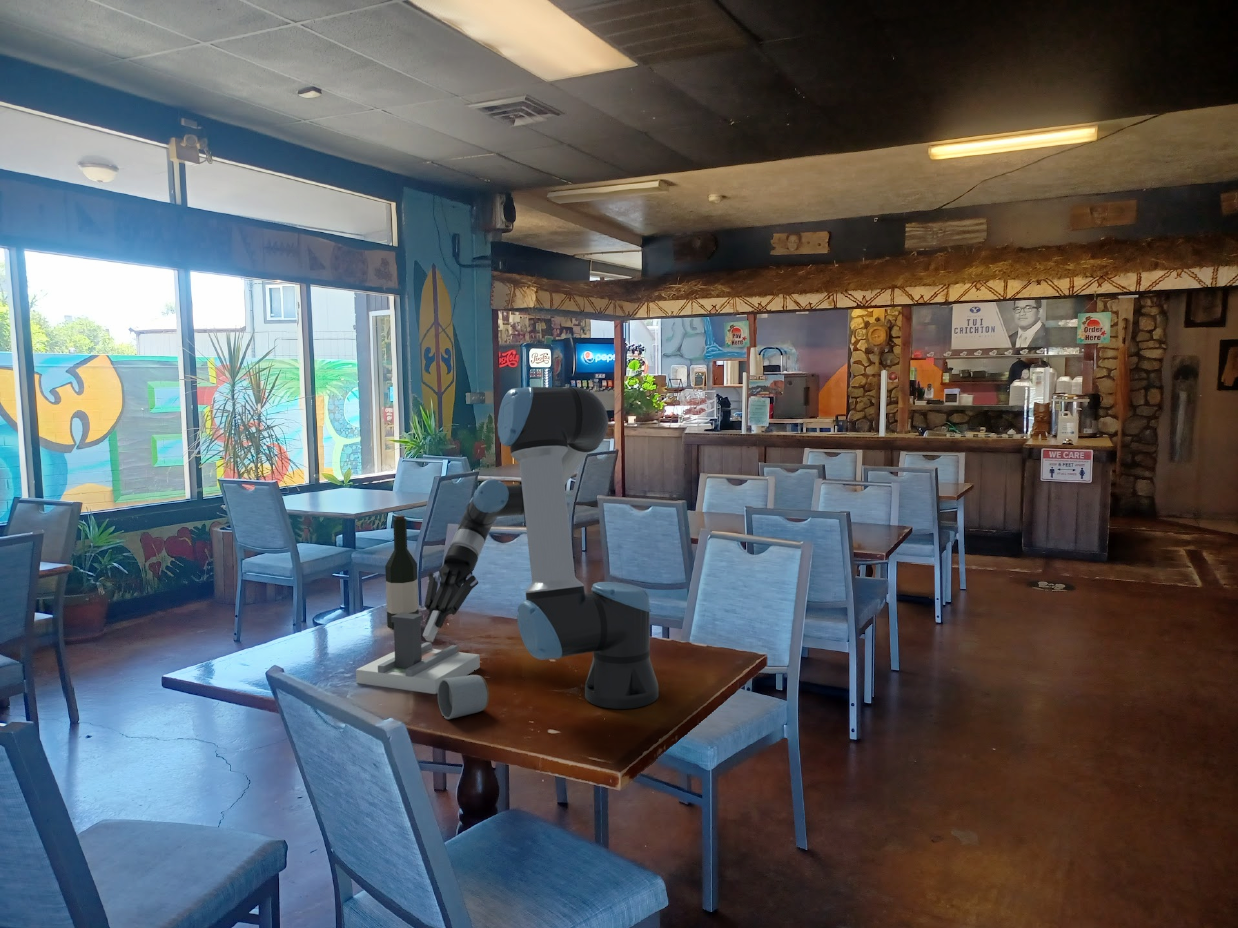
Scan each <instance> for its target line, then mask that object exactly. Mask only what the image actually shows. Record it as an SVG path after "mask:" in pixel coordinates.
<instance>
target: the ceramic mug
mask: <svg viewBox="0 0 1238 928" xmlns="http://www.w3.org/2000/svg"><path fill="white" fill-rule="evenodd" d="M489 691H490V690H489V686H488V684H487V681H486V679H485V678H484V677H483V676H482V675H478V674H470V675H469V674H468V675H466V676H461V677H452V678H444V679H442V680H441V681H440V683H439V686H438V693H437V703H438V706H439V710H440V712H441V715H442V717H443V716H444V717H443V718H445V719H446V720H451V719H452V720H453V719H456V718H460V717H461V718H462V717H463V716H468V715H473V714H476V713H480V712H482V711H484V710H485V709H486V708H487V707H488V705H489V699H490V692H489Z"/></svg>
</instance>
